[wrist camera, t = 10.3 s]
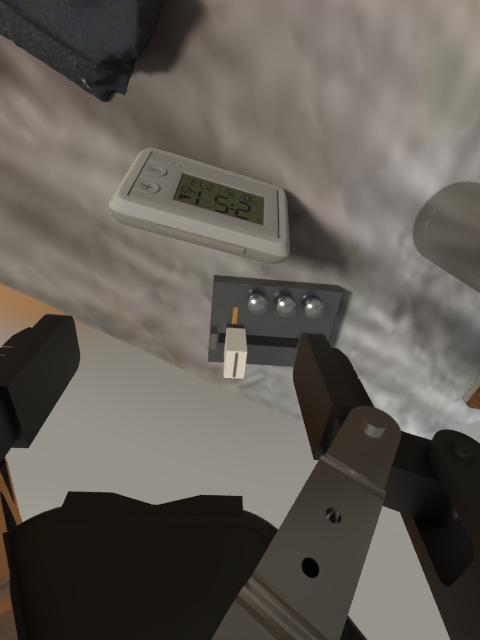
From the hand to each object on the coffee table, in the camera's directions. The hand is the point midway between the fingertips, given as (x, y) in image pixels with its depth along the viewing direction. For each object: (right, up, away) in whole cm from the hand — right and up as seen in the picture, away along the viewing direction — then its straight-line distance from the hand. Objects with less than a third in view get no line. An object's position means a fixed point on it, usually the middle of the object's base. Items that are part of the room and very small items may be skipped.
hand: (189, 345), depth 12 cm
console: (+6, +1, +32) cm, 33 cm away
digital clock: (-1, +15, +24) cm, 28 cm away
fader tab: (+1, -2, +31) cm, 31 cm away
